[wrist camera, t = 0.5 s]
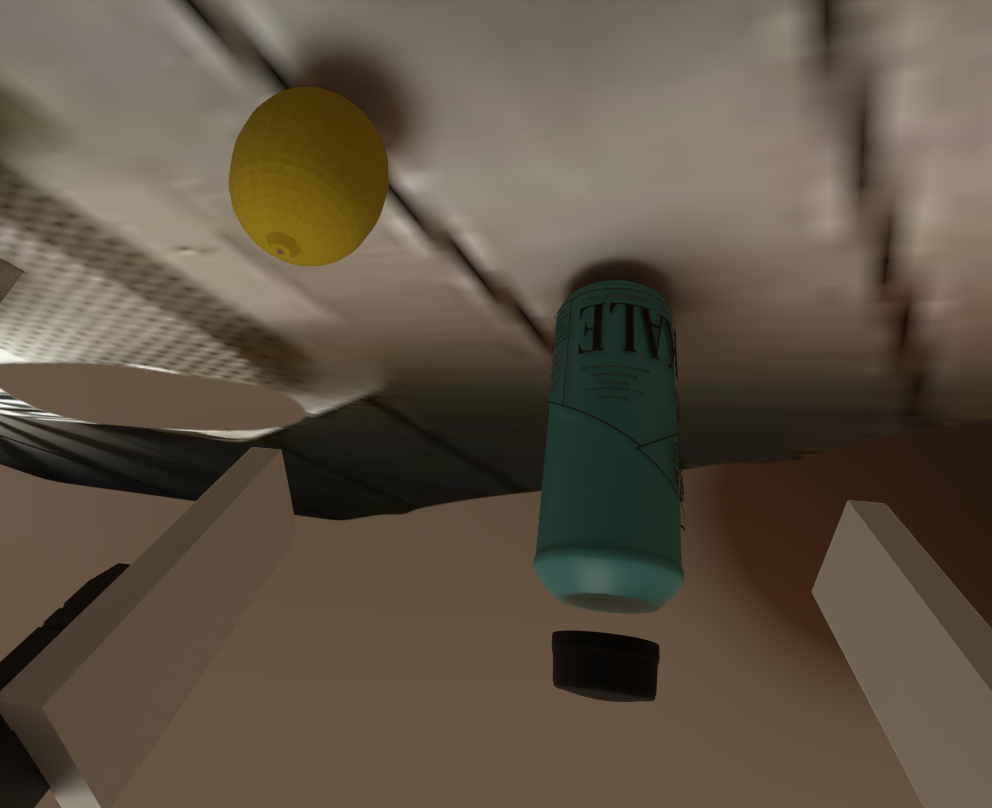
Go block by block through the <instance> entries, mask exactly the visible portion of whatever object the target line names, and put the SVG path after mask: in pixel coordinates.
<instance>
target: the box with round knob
mask: <svg viewBox="0 0 992 808" xmlns="http://www.w3.org/2000/svg"><path fill="white" fill-rule="evenodd" d="M22 273H23V271H21V270H19V269H17V268H15V267H14V266H12V265H10V264H8V263H6V262H4V261H2V260H0V303H1V301H2V300H3V299H4V297H5V296H6V295H7V293H8V292H9V291H10V289H11V288H12V287H13V285H14V284H15V283H16V281H17V280H18V279H19V277H20V276H21V275H22Z"/></svg>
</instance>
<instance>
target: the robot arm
mask: <svg viewBox="0 0 992 808" xmlns="http://www.w3.org/2000/svg"><path fill="white" fill-rule="evenodd" d="M297 538H298V533H297V528H296V523H295V518H294V513H293V508H292V502H291V497H290V492H289V487H288V482H287V477H286V472H285V466H284V461H283V456H282V451H281V450H278V449H267V448H255V447H252V448H251V449H250V450H249V451H247V452H246V453H245V454H244V455H243V456H242V457H241V458H240V459H239V460H238V461H237V462H236V463H235V464H234V465H233V466H232V467H231V468H230V469H229V470H228V471H227V472H226V473H225V474H224V475H223V476H222V477H221V478H220V479H219V480H218V481H217V482H216V483H215V484H213V485H212V486H211V487H210V488H209V489H208V490H207V491H206V492H205V493H204V494H203V495H202V496H201V497H200V498H199V499H198V500H197V501H196V502H195V503H194V504H193V505H192V506H191V507H190V508H189V509H188V510H187V511H186V512H185V513H184V514H183V515H182V516H181V517H179V518H178V519H177V520H176V521H175V522H174V523H173V524H172V525H171V526H170V527H169V528H168V529H167V530H166V531H165V532H164V533H163V534H162V535H161V536H160V537H159V538H158V539H157V540H156V541H155V542H154V543H153V544H152V545H151V546H150V547H149V548H148V549H147V550H145V551H144V552H143V553H142V554H141V555H140V556H139V557H138V558H137V559H136V560H135V561H134V562H133V563H132V564H131V565H129V564H121V563H118V564H116V565H115V566H113V567H111V568H110V569H108V570H106V571H105V572H103V573H102V574H100V575H98V576H96V577H95V578H93V579H91V580H90V581H88V582H87V583H86V584H85V585H84V586H83V587H81V588H80V589H79V590H78V591H77V592H76V593H75V594H74V595H73V596H72V597H71V598H70V599H68V600H67V601H66V602H65V603H64V607H63V608H59V609H58V610H57V611H55V612H54V613H53V614H52V615H51V616H50V617H49V618H48V619H47V620H46V621H45V622H44V625H43V626H42V627H38V628H37V629H36V630H35V631H34V632H33V633H31V634H30V635H29V636H28V637H27V638H26V639H25V640H24V641H23V642H22V643H21V644H20V645H19V646H17V647H16V648H15V649H14V650H13V651H12V652H11V653H10V654H9V655H8V656H6V657H5V658H4V659H3V660H2V661H1V662H0V808H34V807H35V806H36V805H37V803H38V802H39V801H40V800H41V798H42V797H43V796H44V795H45V793H46V792H47V791H48V790H49V789H50V791H51V792H52V794H53V795H54V797H55V798H56V800H57V801H58V803H59V804H60V806H61V807H62V808H113V806H114V805H115V803H116V802H117V800H118V799H119V797H120V796H121V795H122V793H123V792H124V790H125V788H126V787H127V786H128V784H129V783H130V781H131V780H132V779H133V777H134V776H135V774H136V773H137V771H138V770H139V768H140V767H141V765H142V764H143V763H144V761H145V760H146V758H147V757H148V755H149V754H150V752H151V751H152V749H153V748H154V746H155V745H156V743H157V742H158V741H159V739H160V738H161V736H162V735H163V733H164V732H165V730H166V729H167V727H168V726H169V724H170V723H171V722H172V720H173V719H174V717H175V716H176V714H177V713H178V711H179V710H180V709H181V707H182V706H183V704H184V703H185V701H186V700H187V698H188V697H189V695H190V694H191V692H192V691H193V690H194V688H195V687H196V685H197V684H198V682H199V681H200V679H201V678H202V676H203V675H204V673H205V672H206V671H207V669H208V668H209V666H210V665H211V663H212V662H213V660H214V659H215V657H216V656H217V654H218V653H219V652H220V650H221V649H222V647H223V646H224V644H225V643H226V641H227V640H228V638H229V637H230V636H231V634H232V632H233V631H234V630H235V628H236V626H237V625H238V624H239V622H240V621H241V619H242V618H243V617H244V615H245V614H246V612H247V611H248V609H249V608H250V606H251V605H252V603H253V602H254V601H255V599H256V598H257V596H258V595H259V593H260V592H261V590H262V589H263V587H264V586H265V585H266V583H267V582H268V580H269V579H270V577H271V576H272V574H273V573H274V571H275V570H276V568H277V567H278V566H279V564H280V562H281V561H282V560H283V558H284V557H285V555H286V554H287V552H288V551H289V549H290V548H291V547H292V545H293V543H294V542H295V541H296V539H297ZM812 594H813V595H814V597H815V599H816V601H817V603H818V605H819V607H820V609H821V611H822V612H823V615H824V617H825V618H826V620H827V622H828V624H829V626H830V628H831V630H832V632H833V634H834V636H835V638H836V640H837V641H838V643H839V645H840V647H841V649H842V651H843V653H844V655H845V657H846V659H847V661H848V663H849V665H850V666H851V668H852V670H853V672H854V674H855V676H856V678H857V680H858V682H859V684H860V686H861V687H862V689H863V691H864V693H865V695H866V697H867V699H868V701H869V703H870V705H871V707H872V708H873V711H874V712H875V714H876V716H877V718H878V720H879V722H880V724H881V726H882V728H883V730H884V731H885V733H886V735H887V737H888V739H889V741H890V743H891V745H892V747H893V749H894V751H895V753H896V755H897V756H898V758H899V760H900V762H901V764H902V766H903V768H904V770H905V772H906V774H907V776H908V778H909V780H910V781H911V783H912V785H913V787H914V789H915V791H916V793H917V795H918V797H919V799H920V801H921V803H922V804H923V806H924V808H992V629H991V628H990V627H989V626H988V624H987V623H986V622H985V621H984V620H983V619H982V617H981V616H980V615H979V614H978V613H977V611H976V610H975V609H974V608H973V607H972V606H971V604H970V603H969V602H968V601H967V600H966V598H965V597H964V596H963V595H962V594H961V593H960V591H959V590H958V589H957V588H956V587H955V586H954V584H953V583H952V582H951V581H950V580H949V578H948V577H947V576H946V575H945V574H944V573H943V571H942V570H941V569H940V568H939V567H938V566H937V564H936V563H935V562H934V561H933V559H932V558H931V557H930V556H929V555H928V554H927V552H926V551H925V550H924V549H923V548H922V546H921V545H920V544H919V543H918V542H917V541H916V539H915V538H914V537H913V536H912V535H911V534H910V532H909V531H908V530H907V529H906V528H905V526H904V525H903V524H902V523H901V522H900V521H899V519H898V518H897V517H896V516H895V515H894V513H893V512H892V511H891V510H890V509H889V508H888V506H887V505H886V504H884V503H873V502H861V501H850V500H848V501H847V504H846V506H845V509H844V512H843V514H842V516H841V519H840V522H839V524H838V527H837V529H836V532H835V534H834V537H833V539H832V542H831V544H830V547H829V549H828V552H827V554H826V557H825V559H824V562H823V565H822V567H821V569H820V572H819V574H818V577H817V579H816V582H815V585H814V588H813V590H812Z"/></svg>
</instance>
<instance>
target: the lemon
mask: <svg viewBox="0 0 992 808" xmlns="http://www.w3.org/2000/svg"><path fill="white" fill-rule="evenodd" d="M388 181H389V180H388V160H387V155H386V152H385V148H384V145H383V142H382V139H381V137H380V135H379V133H378V132H377V130H376V128H375V126H374V124H373V123H372V121H371V120H370V119H369V118H368V117H367V116H366V115H365V113H364V112H363V111H362V110H361V109H360V108H359V107H357V106H356V105H355V104H354V103H352V102H351V101H350V100H349V99H347V98H345V97H343V96H341V95H339V94H337V93H335V92H333V91H329V90H326V89H322V88H319V87H296V88H292V89H288V90H284V91H281V92H279V93H277V94H275V95H274V96H272V97H271V98H269V99H268V100H267V101H265V102H264V103H262V104H261V105H260V106H259V107H258V108H256V110H255V111H254V112H253V113H252V114H251V116H250V117H249V119H248V121H247V122H246V124H245V125H244V127H243V129H242V130H241V132H240V134H239V136H238V138H237V140H236V143H235V146H234V150H233V155H232V161H231V167H230V174H229V191H230V196H231V201H232V205H233V209H234V212H235V214H236V216H237V218H238V220H239V222H240V223H241V225H242V227H243V229H244V230H245V231H246V232H247V234H248V235H249V236H250V237H251V239H252V240H253V241H254V242H255V243H256V244H257V245H259V246H260V247H261V248H262V249H263V250H265V251H266V252H268V253H269V254H271V255H272V256H274V257H276V258H278V259H280V260H282V261H285V262H288V263H291V264H295V265H301V266H322V265H326V264H330V263H334V262H337V261H339V260H341V259H343V258H344V257H346V256H348V255H349V254H351V253H352V252H353V251H355V250H356V249H357V248H358V247H359V246H360V245H361V243H362V242H363V241H364V239H365V238H366V237H367V236H368V234H369V233H370V232H371V231H372V229H373V228H374V226H375V225H376V223H377V221H378V219H379V217H380V214H381V212H382V208H383V205H384V202H385V199H386V195H387V190H388Z"/></svg>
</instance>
